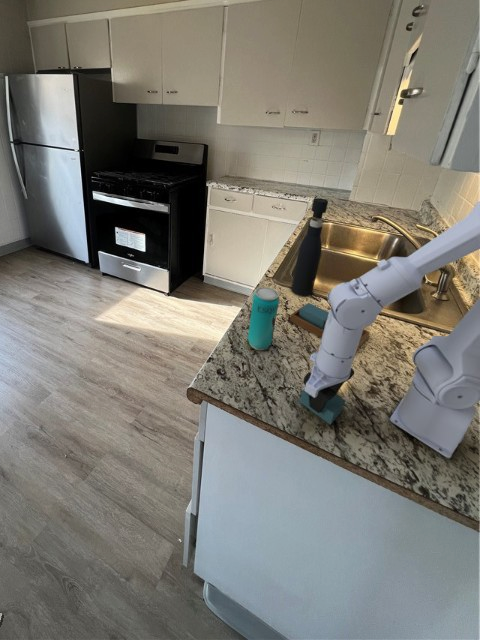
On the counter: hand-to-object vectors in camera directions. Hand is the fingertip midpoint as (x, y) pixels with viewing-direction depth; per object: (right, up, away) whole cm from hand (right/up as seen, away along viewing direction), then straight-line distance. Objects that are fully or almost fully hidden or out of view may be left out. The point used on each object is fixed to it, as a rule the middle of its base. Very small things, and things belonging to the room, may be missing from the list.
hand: (321, 401), depth 61 cm
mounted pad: (+8, +10, +25) cm, 28 cm away
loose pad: (0, -1, +1) cm, 1 cm away
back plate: (+11, +9, +23) cm, 26 cm away
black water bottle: (+10, +17, +40) cm, 44 cm away
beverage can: (-9, +6, +17) cm, 20 cm away
